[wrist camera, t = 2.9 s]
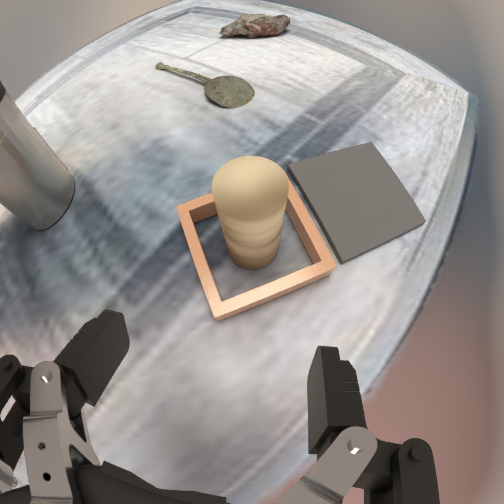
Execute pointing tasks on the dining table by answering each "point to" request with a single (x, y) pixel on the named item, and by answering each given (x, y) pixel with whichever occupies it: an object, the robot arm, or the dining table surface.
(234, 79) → the soupspoon
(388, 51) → the dining table surface
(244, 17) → the mineral rock
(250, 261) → the maple post
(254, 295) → the terracotta collar
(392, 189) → the charcoal mat
